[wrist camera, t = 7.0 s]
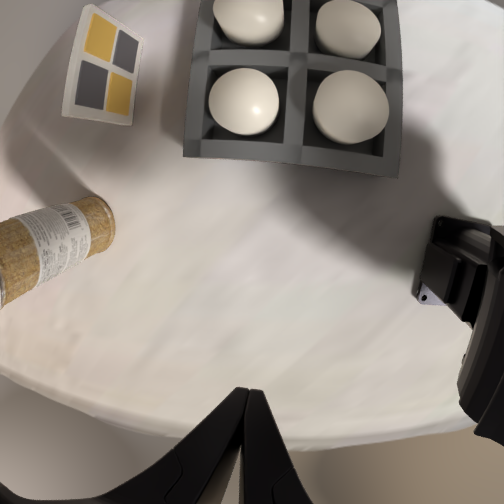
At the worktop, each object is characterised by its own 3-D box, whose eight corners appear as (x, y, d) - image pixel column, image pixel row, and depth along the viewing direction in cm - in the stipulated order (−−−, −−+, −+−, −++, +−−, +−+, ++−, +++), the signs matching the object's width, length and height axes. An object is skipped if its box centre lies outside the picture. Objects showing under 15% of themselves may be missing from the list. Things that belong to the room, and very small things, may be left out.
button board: (383, 19, 14) (396, -1, 11) (381, 176, 17) (397, 178, 14) (215, 5, 15) (204, -17, 12) (199, 158, 18) (182, 157, 15)
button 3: (281, 82, 15) (280, 69, 13) (277, 139, 16) (275, 134, 14) (221, 80, 16) (211, 68, 13) (217, 135, 17) (206, 131, 14)
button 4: (285, 1, 12) (284, -19, 10) (282, 48, 13) (281, 31, 11) (225, 1, 13) (217, -18, 10) (219, 47, 14) (209, 31, 12)
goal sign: (145, 39, 16) (93, 2, 10) (134, 125, 18) (70, 114, 12) (136, 40, 16) (83, 6, 10) (125, 125, 18) (60, 116, 12)
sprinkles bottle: (67, 218, 21) (-66, 269, 8) (97, 183, 20) (-56, 219, 7) (95, 262, 22) (-31, 342, 9) (128, 231, 21) (-17, 308, 8)
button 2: (369, 22, 13) (379, 6, 11) (371, 68, 14) (382, 55, 12) (314, 13, 13) (317, -5, 11) (313, 58, 14) (316, 43, 12)
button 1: (376, 89, 13) (389, 78, 11) (373, 149, 14) (387, 146, 12) (313, 79, 14) (317, 65, 12) (309, 140, 15) (313, 135, 13)
